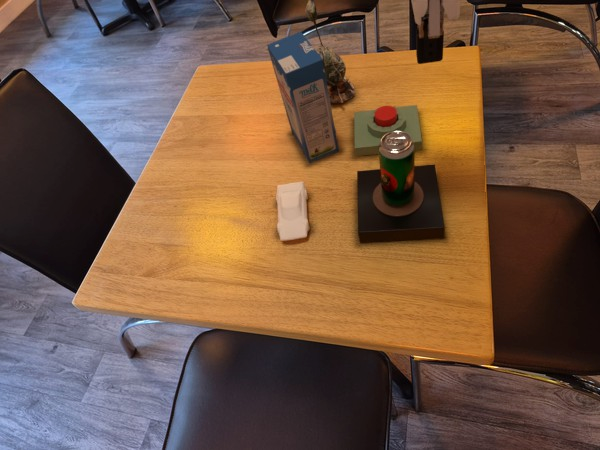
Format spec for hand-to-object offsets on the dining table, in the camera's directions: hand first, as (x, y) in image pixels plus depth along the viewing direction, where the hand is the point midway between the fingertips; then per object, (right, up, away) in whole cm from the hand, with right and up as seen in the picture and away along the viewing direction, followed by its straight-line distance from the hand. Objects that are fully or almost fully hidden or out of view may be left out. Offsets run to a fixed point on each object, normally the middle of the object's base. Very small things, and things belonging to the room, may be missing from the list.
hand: (429, 58), depth 58 cm
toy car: (-18, -20, +19) cm, 33 cm away
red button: (-1, -3, +23) cm, 23 cm away
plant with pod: (-9, +6, +36) cm, 38 cm away
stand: (-1, -19, +15) cm, 25 cm away
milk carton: (-14, -6, +29) cm, 33 cm away
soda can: (-1, -17, +13) cm, 22 cm away
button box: (0, -5, +26) cm, 26 cm away
